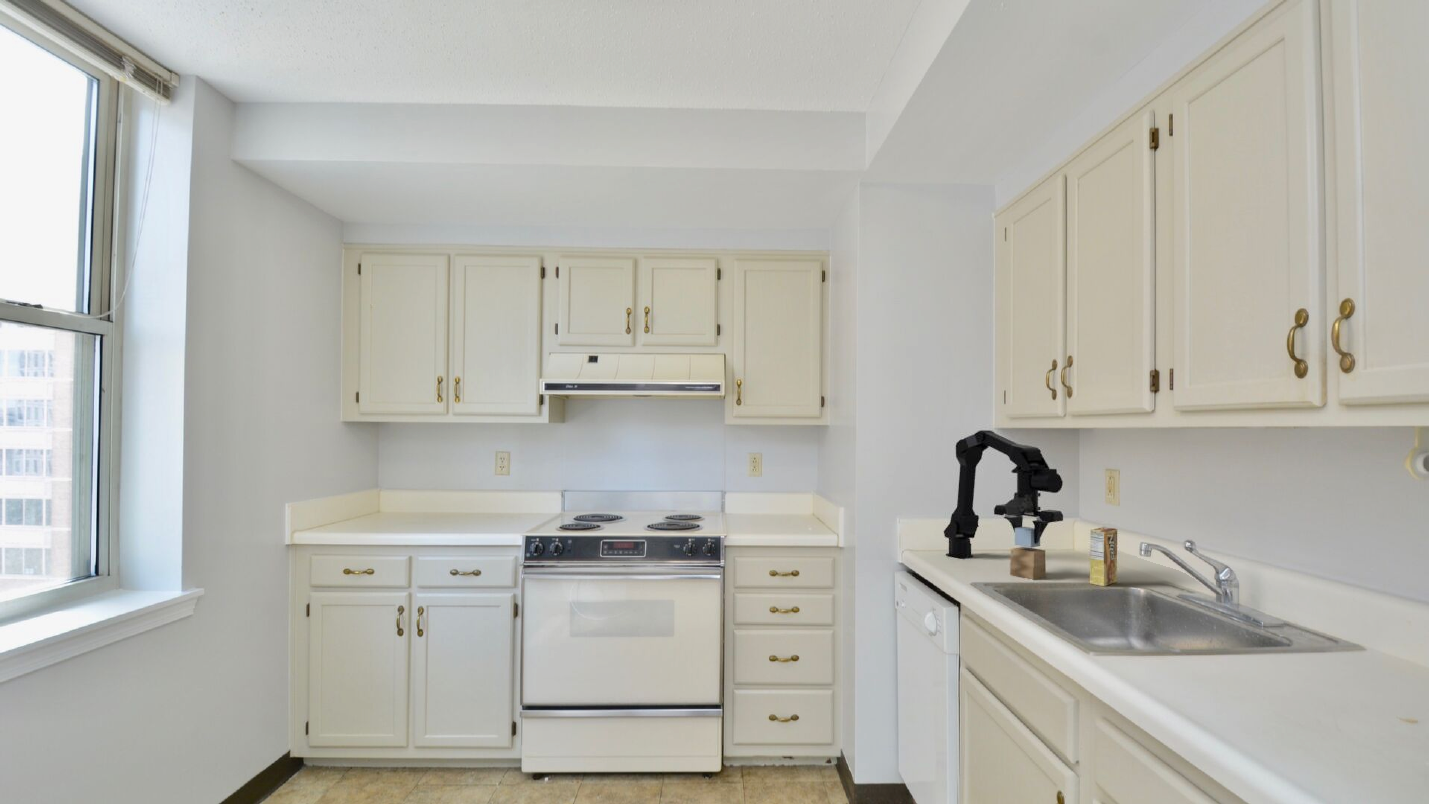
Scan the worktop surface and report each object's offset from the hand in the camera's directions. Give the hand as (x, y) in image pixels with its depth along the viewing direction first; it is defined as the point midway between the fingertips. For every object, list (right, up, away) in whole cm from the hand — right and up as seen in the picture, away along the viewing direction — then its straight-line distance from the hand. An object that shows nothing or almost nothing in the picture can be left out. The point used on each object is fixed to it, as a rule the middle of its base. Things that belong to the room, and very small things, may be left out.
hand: (1027, 542), depth 204 cm
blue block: (0, -1, 0) cm, 1 cm away
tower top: (0, -6, 0) cm, 6 cm away
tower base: (0, -10, 0) cm, 10 cm away
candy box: (+18, -10, -8) cm, 22 cm away
